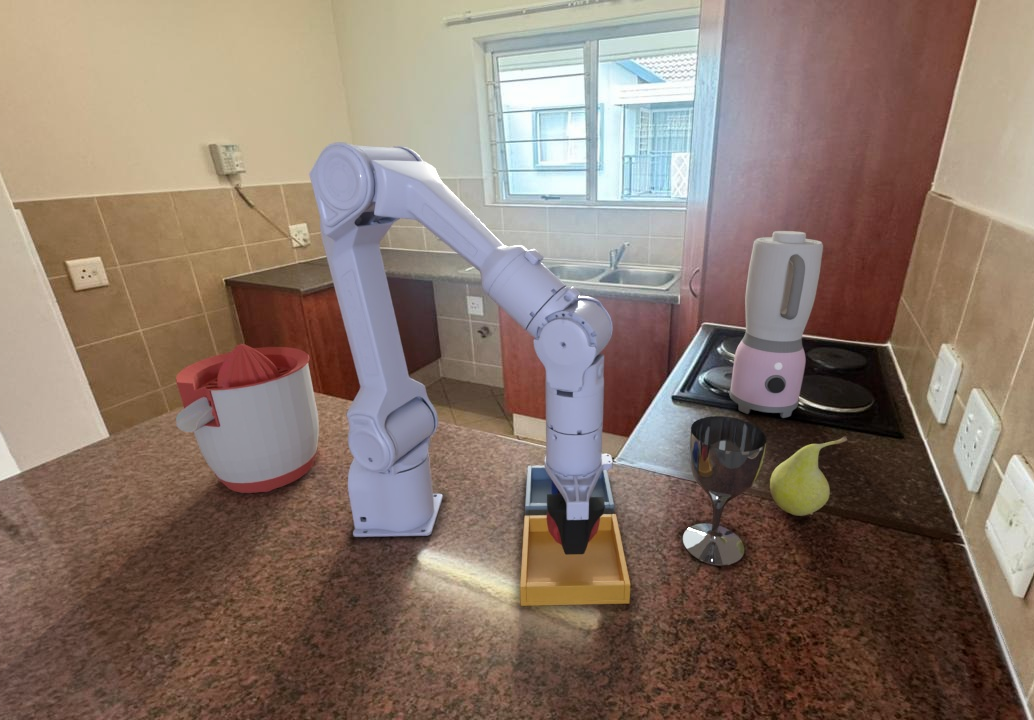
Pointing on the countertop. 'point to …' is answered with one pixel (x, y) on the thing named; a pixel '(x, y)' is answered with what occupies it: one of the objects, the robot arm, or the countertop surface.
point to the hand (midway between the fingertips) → (572, 531)
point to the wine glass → (722, 480)
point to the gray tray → (541, 486)
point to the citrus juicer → (252, 415)
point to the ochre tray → (573, 567)
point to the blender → (776, 322)
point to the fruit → (801, 481)
